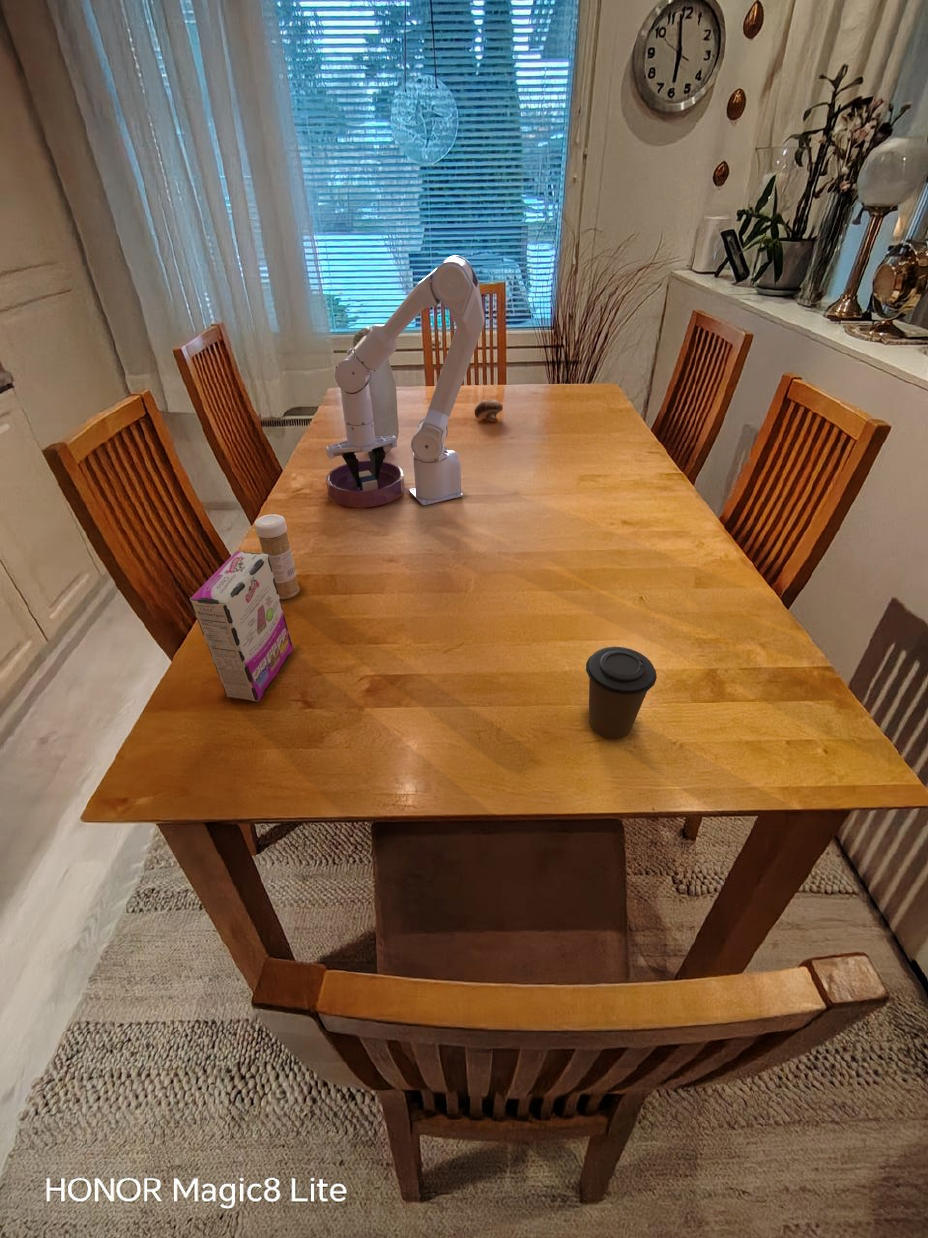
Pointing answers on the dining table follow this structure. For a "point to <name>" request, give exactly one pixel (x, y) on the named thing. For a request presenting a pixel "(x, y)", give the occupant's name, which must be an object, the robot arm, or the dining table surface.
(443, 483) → the robot arm
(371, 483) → the eraser
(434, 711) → the dining table surface
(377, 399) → the white tall rounded piece
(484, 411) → the mushroom
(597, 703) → the coffee cup
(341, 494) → the bowl
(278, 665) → the candy bar box
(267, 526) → the sprinkles bottle
